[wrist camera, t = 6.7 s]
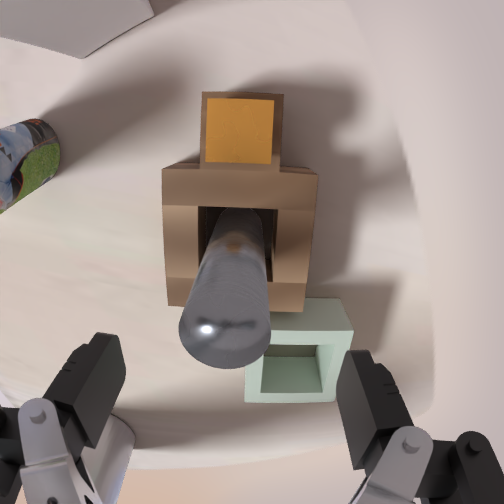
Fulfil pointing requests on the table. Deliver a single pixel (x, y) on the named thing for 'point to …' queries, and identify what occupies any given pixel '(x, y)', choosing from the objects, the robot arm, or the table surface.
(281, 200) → the socket block
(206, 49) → the table surface
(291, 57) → the table surface
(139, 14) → the milk carton
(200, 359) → the peg
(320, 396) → the rack
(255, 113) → the orange square-headed peg
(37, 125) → the beverage can
